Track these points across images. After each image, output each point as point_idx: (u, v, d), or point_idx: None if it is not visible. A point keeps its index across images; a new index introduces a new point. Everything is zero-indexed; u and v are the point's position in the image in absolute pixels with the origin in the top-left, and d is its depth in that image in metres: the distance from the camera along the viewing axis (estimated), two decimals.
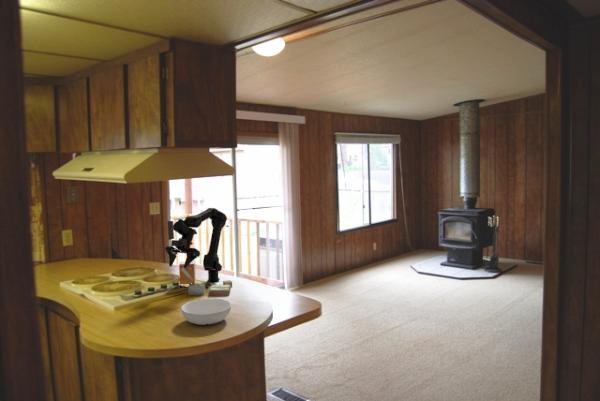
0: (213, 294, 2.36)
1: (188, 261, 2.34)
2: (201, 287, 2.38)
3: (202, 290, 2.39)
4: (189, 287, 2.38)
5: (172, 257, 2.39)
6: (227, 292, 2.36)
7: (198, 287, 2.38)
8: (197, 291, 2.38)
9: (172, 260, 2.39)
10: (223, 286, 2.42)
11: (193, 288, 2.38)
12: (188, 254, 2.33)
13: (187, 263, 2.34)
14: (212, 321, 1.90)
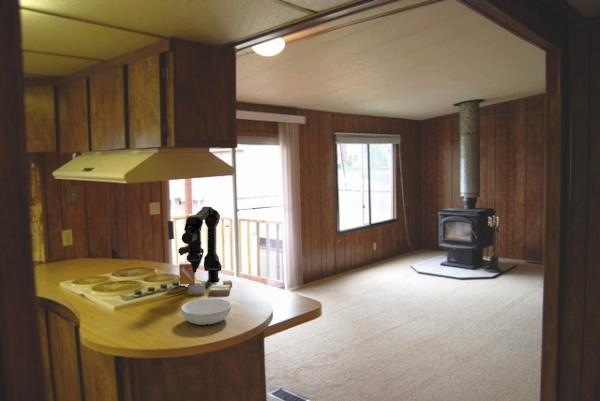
0: (213, 294, 2.36)
1: (194, 266, 2.34)
2: (201, 287, 2.38)
3: (202, 290, 2.39)
4: (189, 287, 2.38)
5: None
6: (227, 292, 2.36)
7: (198, 287, 2.38)
8: (197, 291, 2.38)
9: None
10: (223, 286, 2.42)
11: (193, 288, 2.38)
12: None
13: (194, 268, 2.34)
14: (212, 321, 1.90)
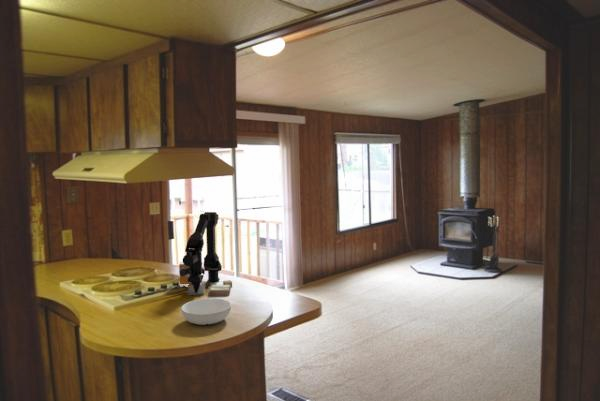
0: (213, 294, 2.36)
1: (195, 286, 2.37)
2: (201, 287, 2.38)
3: (202, 290, 2.39)
4: (189, 287, 2.38)
5: None
6: (227, 292, 2.36)
7: None
8: None
9: None
10: (223, 286, 2.42)
11: (193, 288, 2.38)
12: None
13: (195, 288, 2.37)
14: (212, 321, 1.90)
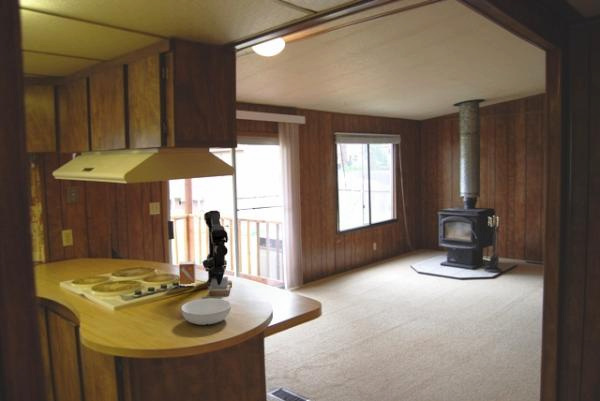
0: (213, 294, 2.36)
1: (218, 278, 2.34)
2: (224, 281, 2.38)
3: (225, 284, 2.38)
4: (212, 281, 2.38)
5: None
6: (227, 292, 2.36)
7: (221, 281, 2.38)
8: (220, 285, 2.38)
9: None
10: None
11: (216, 282, 2.38)
12: None
13: (218, 280, 2.35)
14: (212, 321, 1.90)
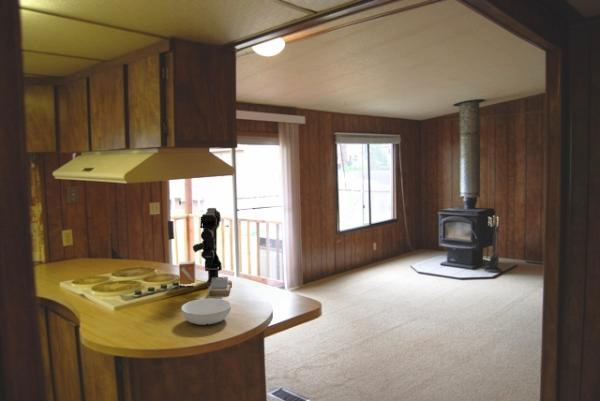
0: (213, 294, 2.36)
1: (208, 262, 2.42)
2: (224, 281, 2.38)
3: (225, 284, 2.38)
4: (212, 281, 2.38)
5: None
6: (227, 292, 2.36)
7: (221, 281, 2.38)
8: (220, 285, 2.38)
9: None
10: None
11: (216, 282, 2.38)
12: None
13: (208, 264, 2.43)
14: (212, 321, 1.90)
